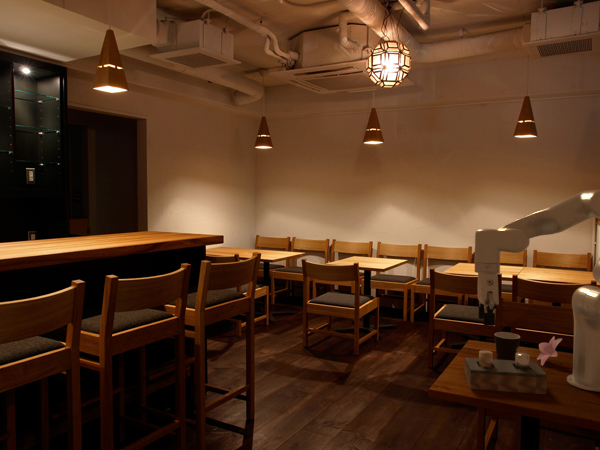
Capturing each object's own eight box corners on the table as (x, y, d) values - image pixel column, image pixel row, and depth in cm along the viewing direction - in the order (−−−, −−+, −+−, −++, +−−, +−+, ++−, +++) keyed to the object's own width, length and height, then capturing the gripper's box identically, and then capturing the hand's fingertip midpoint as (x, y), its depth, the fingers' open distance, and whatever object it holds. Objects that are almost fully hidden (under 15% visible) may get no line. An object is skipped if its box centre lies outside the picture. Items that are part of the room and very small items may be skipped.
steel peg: (527, 369, 153) (527, 352, 153) (530, 374, 149) (531, 356, 149) (513, 368, 154) (514, 352, 153) (516, 373, 150) (517, 356, 149)
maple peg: (490, 367, 155) (491, 350, 155) (493, 371, 151) (493, 354, 151) (477, 366, 156) (478, 350, 155) (480, 370, 152) (480, 353, 151)
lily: (540, 358, 181) (529, 337, 180) (573, 351, 175) (562, 329, 174) (539, 377, 172) (527, 355, 171) (574, 371, 165) (562, 348, 164)
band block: (534, 379, 156) (535, 361, 156) (546, 394, 145) (546, 374, 144) (464, 375, 160) (464, 357, 160) (470, 388, 149) (470, 369, 148)
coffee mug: (509, 368, 167) (510, 340, 167) (488, 361, 175) (489, 334, 174) (530, 362, 173) (530, 335, 172) (509, 356, 180) (509, 330, 180)
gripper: (506, 272, 143) (505, 329, 143) (494, 264, 160) (493, 316, 160) (479, 271, 144) (478, 328, 145) (470, 264, 161) (469, 315, 162)
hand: (486, 321), depth 153 cm, fingers open, 8 cm apart
